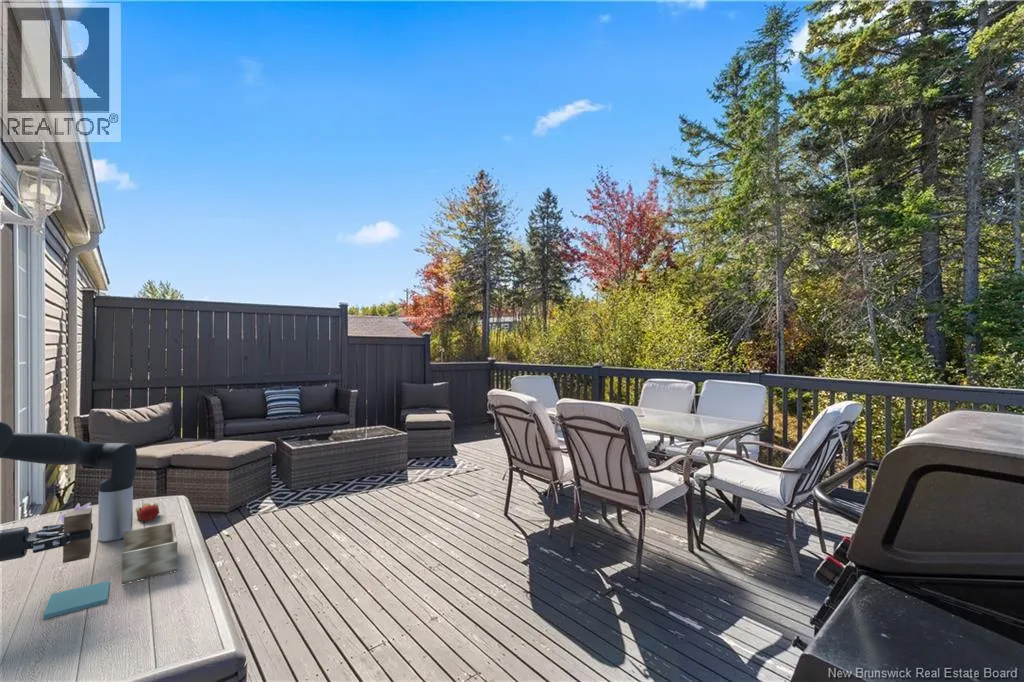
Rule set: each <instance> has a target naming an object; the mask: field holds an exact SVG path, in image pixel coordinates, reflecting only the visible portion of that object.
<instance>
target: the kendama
mask: <svg viewBox="0 0 1024 682" xmlns="http://www.w3.org/2000/svg"><path fill="white" fill-rule="evenodd" d="M135 513H136V516H137V521H140V519H141V521H143V522H147V523H148V521H149V522H151V521H153V520H155V519H156V518H157V517H158V516H159V515H160V509H159V504H158V502H154V503H153V504H151V503H148V502H147V503H144V504H143V505H142V506H141V507H140V506H139V507H136V508H135Z"/></svg>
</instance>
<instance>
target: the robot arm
mask: <svg viewBox="0 0 1024 682" xmlns="http://www.w3.org/2000/svg"><path fill="white" fill-rule="evenodd" d="M137 458H138V454H137V448H136V447H135V445H133V444H132V443H127V442H126V443H125V442H103V443H102V442H88V441H84V440H81V439H79V438H78V437H75V436H73V435H72V436H71V435H68V434H67V435H66V434H60V433H56V432H55V433H53V432H13V429H12V427H11V426H10V425H9V424H8V423H6V422H3V421H0V459H6V460H13V461H19V462H26V463H36V464H43V465H52V466H53V465H55V466H68V465H69V466H70V465H71V466H72V465H81V466H86V467H87V466H88V467H92V468H94V469H95V468H96V469H101V470H109V471H110V470H111V472H110V473H111V474H110V477H109V478H106V479H104V480H102V481H100V482H99V484H98V520H97V521H98V522H97V523H98V526H97V527H98V529H97V530H98V531H97V536H98V537H97V540H98V541H99V542H106V543H107V542H114V541H117V540H121V538H122V539H124V532H125V531H130V530H133V512H134V511H133V505H134V504H133V500H134V492H133V491H134V490H133V489H134V486H133V485H134V481H135V478H136V473H137ZM93 529H94V525H93V523H92V524H91V530H90V529H87V530H81V531H75V532H71V533H70V532H67V533H64V531H63V530H64V523H62V524H54V525H53V524H52V525H44V526H42V527H41V529H38V531H37V530H36V531H33V532H30V531H29V527H28V526H19V527H14V528H8V529H2V530H1V529H0V562H5V561H11V560H16V559H22V558H25V556H26V555H27V554H28V551H29V550H32V554H37V553H40V552H45V551H49V550H54V549H57V548H61V547H62V548H63V546H65V545H66V544H67V543H70V541H76V540H81V539H87V538H89V537H90V533H91V534H92V531H93Z"/></svg>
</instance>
